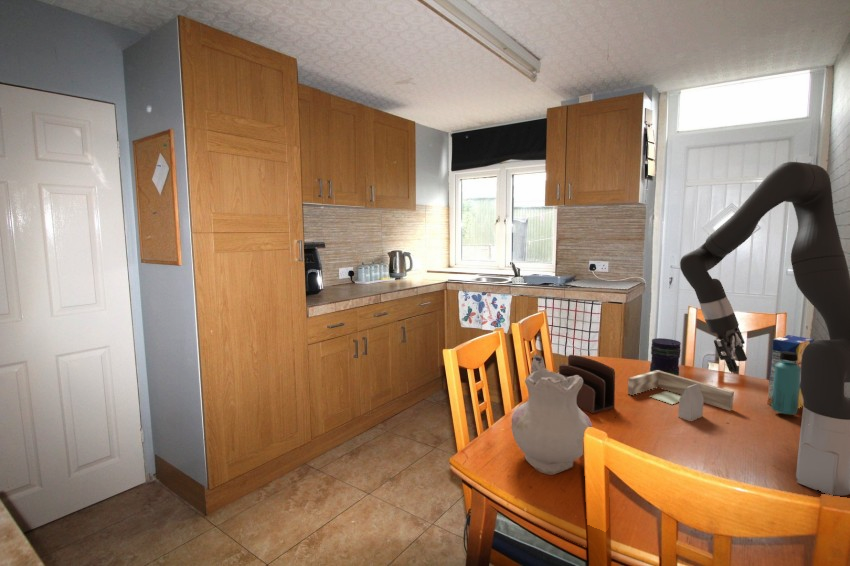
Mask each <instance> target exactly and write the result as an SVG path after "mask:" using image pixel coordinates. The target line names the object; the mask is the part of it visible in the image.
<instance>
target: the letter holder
mask: <svg viewBox="0 0 850 566" xmlns="http://www.w3.org/2000/svg"><path fill="white" fill-rule="evenodd" d="M567 359H568V360H567V364H559V366H558V373H559V374H561V375H563V376H564V377H565V378H567V377H570V376H574V375H579V377H581V378H582V379H583V384H582V387H581V388H580V390H579V392H578V394H577V398H576V404H577V406H578V407H580V409H581V408H582V409H581V410H584V411H586V412H588V411H589V412H588V413H590V412H591V413H590V414H592V413H593V414H592V415H595V414H599V413H603V412H605V411H610V410H612V409H614V408H615V407H616V406H615V402H616V401H615V397H616V394H615V392H616V381H615V380H616V371H615V369H614V368H613V367H611V366H609V365H607V364H604V362H603V363H602V362H600V361H597V360H595V359H592V358H589V357H584V356H580V355H576V354H575V355H574V354H569V355H568V357H567ZM609 409H610V410H609ZM594 413H595V414H594Z"/></svg>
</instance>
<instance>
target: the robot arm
mask: <svg viewBox="0 0 850 566" xmlns="http://www.w3.org/2000/svg"><path fill="white" fill-rule="evenodd" d="M831 183H832V182H831V178H830V175H829V173H828V171H827V170H826V169H825V168H824V167H822V166H821V165H817V164H813V163H807V162H799V161H788V162H783V163H782V164H780V165H778V166H776V167H775V168H773V170H771V171H770V173H768V174H767V175H766V177H765V178H763V180H762V181H761V183H760V184H759V185H758V186H757V187H756V188H755V190H754V191H753V192H752V193H751V194H750V196H748V198H747V199H746V200H745V201H744V202H743V204H742V205H741V206H740V207H739V208H738V209H737V210H736V211H735V213H733V215H732V216H730V218H728V219H727V220H726V221H725V222H723V223H722V225H720V226H719V227H718V228H717V229H715V231H713V232H712V233H711V234H710V235H709V236H708V237H707V238H706V240H705V242H704V243H703V244H702V245H700V246H698V248H696V249H694V250H692V251H690V252H688V253H686V254H684V255H683V256H682V257H681V259H680V262H679V266H680V267H679V268H680V270H681V273H682V275H683V277H684V279H685V280H686V281H687V283H688V284H689V285H690V286H691V288H692V289H693V290H694V292H695V294H696V297H697V299H698V302H699V305H700V306H699V307H700V310H701V312H702V315H703V318H704V320H705V323H706V326H707V329H708V331H709V332H710V333H713V334H716V335H717V339H713V343H714V345H715V346H714V347H715V349H716V352H717V354H718V358H719V359H720V361H725V364H726V366H727V367H726V368H727V369H728V371H729V372H730V373H734V372H735V373H736V372H738V371H739V367H738V365H737V362H736V360H737V361H738V362H747V360H748V357H747V354H746V353H745V350H744V347H745V346H744V344H745V343H746V342H745V339H744V338H743V335H742V333H741V330H740V328H739V321H738V319H737V317H736V314H735V311H734V309H733V307H732V304H731V302H730V299H728V296H727V294H726V292H725V288H724V287H723V284H722V281H720V279H717V278H712V276H711V275H710V273H709V271H710V270H712V269H714V267H716V266H717V265H718V264H720V263H721V262H722V260H724V259H725V258H726V257H727V255H730V254H731V253H732V252H733V251H735V250H736V249H738V247H740V246H741V245H743V244H744V243H745V242H746V241H747V240H748V239H749V238H750V237H751V236H752V234H753V233H754V232H755V230H756V228H757V226H758V223H759V222H760V221H761V219H762V218H763V217H764V216H765V215H766V214H767V213H768V212H769V211H771V210H773V209H774V208H775V207H777V206H779V205H781V204H783V203H784V202H786V203H792V205H793V208H794V212H795V215H796V221H797V232H796V237H795V240H794V242H793V245H792V249H791V253H790V264H791V266H792V267H791V268H792V272H793V277H794V281H795V283H796V287H797V288H798V289H799V291H800V293H802V295H803V296H804V297H805V299H807V300H808V301H809V303H810V304H811V305H812V306H813V307H814V308H815V309H816V310H817V312H818V313H819V314H820V316H821V317H822V318H823V321H824V323H825V326H826V328H827V332H828V337H829V339H818V340H817V339H816V340H814V341H813V342H811V343H809V344H808V345H807V346H806V348H805V349H804V351H803V355H802V361H801V393H802V396H803V400H804V403H803V407H802V414H801V415H802V416H801V424H800V434H799V443H798V451H797V452H798V453H797V462H796V470H795V471H796V472H795V478H796V480H797V484H800V485H803V486H805V487H807V488H810V489H813V490H814V491H817V490H819V491H821V492H820V493H822V494H824V493H825V495H827V494H830V495H834V496H839V497H840V496H848V495H850V397H848V396H845V383H850V271H849V266H848V263H847V259H846V256H845V252H844V249H843V246H842V242H841V236H840V233H839V227H838V226H837V222H836V221H837V220H836V218H835V210H834V200H833V194H832V193H833V192H832V184H831ZM734 353H735V356H736V359H735V356H734ZM819 491H818V492H819Z"/></svg>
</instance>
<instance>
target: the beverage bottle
mask: <svg viewBox="0 0 850 566" xmlns="http://www.w3.org/2000/svg"><path fill="white" fill-rule="evenodd" d="M780 358H781V359H783V360H788V361H797V354H796V353H793V352H788V351H782V352H781V354H780ZM800 374H801V368H800V367H799V366H798V365H797V364H795V363H792V362H786V361H781V362H778V363H776V364H775V372H774V382H773V390H772V391H773V394H772V399H771V400H772V401H771V402H772V404H771V405H770V406H771V410H773V411H775V412H777V413H781V414H784V415H796V414H798V412H799V409H798V406H799V404H798V400H799V396H800V395H799V394H800V393H799V392H800V391H799V388H800Z"/></svg>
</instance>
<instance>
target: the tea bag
mask: <svg viewBox="0 0 850 566" xmlns="http://www.w3.org/2000/svg"><path fill="white" fill-rule="evenodd" d="M703 401H704V398H703V395H702V393H701V390H700V387H699V384H694V385H691V386H689V387H686V388H685V391H684V393H683V394H682V395H681V397H680V399H679V403H678V412H677V414H678V415H677V417H678V418H679V417H680V419H682V418H683V420H685V421H688V422H690V421H691V422H693V421H696V420H697V418H698V419H700V418H702V417H703V412H704V411H703V410H704V402H703Z"/></svg>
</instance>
